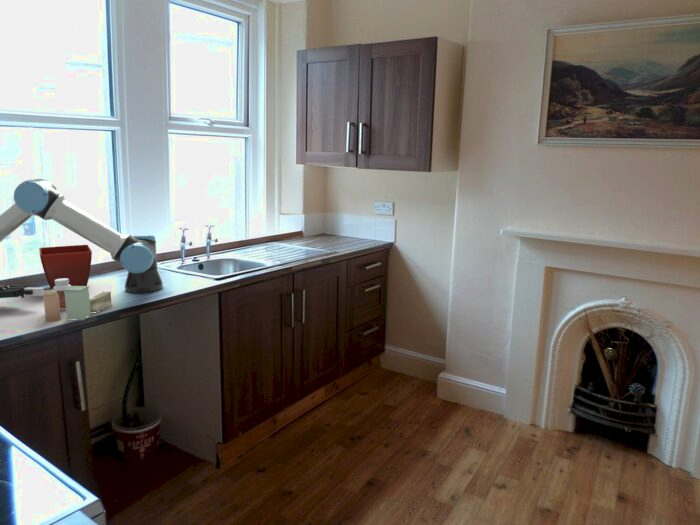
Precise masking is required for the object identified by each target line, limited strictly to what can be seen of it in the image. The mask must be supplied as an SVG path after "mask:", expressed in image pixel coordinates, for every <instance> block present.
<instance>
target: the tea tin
mask: <svg viewBox="0 0 700 525" xmlns="http://www.w3.org/2000/svg"><path fill="white" fill-rule="evenodd" d="M89 288H90V287H89V285H87V286H71V287H69V288H67V289H65V290H64V293H65V303H66V310H65V312H66V320H67V321H72V320H71V319H77V320H76V321H84V320H86V319H87V318H86V317H87V316H89V315H90V314H91V315H92V313H91V311H90V300H89V299H90V292H89ZM89 317H90V316H89ZM85 318H86V319H85ZM69 319H70V320H69Z"/></svg>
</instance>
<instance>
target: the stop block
mask: <svg viewBox="0 0 700 525" xmlns="http://www.w3.org/2000/svg"><path fill="white" fill-rule="evenodd" d="M111 292H112V291H102V292H99V293H97V294H95V295H94V296H92V297H89V300H90V311H91V312H98V311H100V310H102V309H103V308H105V307H107V306H108V307H110V306H111V305H112V294H111ZM110 304H111V305H110ZM109 305H110V306H109ZM108 307H107V308H108ZM105 309H106V308H105ZM103 310H104V309H103ZM103 310H102V311H103ZM100 312H101V311H100ZM98 313H99V312H98Z"/></svg>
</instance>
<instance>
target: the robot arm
mask: <svg viewBox="0 0 700 525" xmlns="http://www.w3.org/2000/svg"><path fill="white" fill-rule="evenodd" d="M13 201H14V204H13V205H11V206H10V207H8V209H6V210H5V211H3V212H2V213H1V214H0V243H1V242H3V241H4V240H5V239H7V237H9V236H10V235H11V234H12V233H14V232H15V231H16V230H17V229H19V228H20V227H21V226H22V225H23V224H25V223H26V222H27V221H29V219H31V218H32V217H34V216H36V217H38V218H40V219H42V220H44V221H49V220H52V221H53V222H56V223H57V224H59V225H60V226H62V227H63V228H65V229H68V230H70V231H71V232H73V233H74V234H76V235H79V236H80V237H82V238H83V239H85V240H87V241H88V242H90V243H92V244H94V245H95V246H97V247H99V248H100V249H102V250H104V251H106V252H107V253H109V254H110V257H111V259H112V260H113V261H115V262H117V263H118V264H119V265H121V266H122V267H123V269H124V270H125V271H126V272H127V275H126V280H125V284H124V291H126V292H128V293H131V294H132V293H134V294H135V293H137V294H142V293H144V294H145V293H151V292H156V291H160V290H162V289H163V288H164V285H163V280H162V277H161V275H160V273H159V270H158V260H157V247H156V246H157V244H156V243H157V241H156V237H155V236H154V235H153V234H149V235H148V234H147V235H146V234H144V235H131V234H130V233H128V234H122V233H120V232H119V231H117V230H115V229H114V228H112V227H110V226H108V225H107V224H105V223H104V222H102V221H100V220H99V219H97V218H96V217H94V216H92V215H90V214H89V213H87V212H85V211H83V210H82V209H80V208H78V207H76V206H75V205H74V204H72V203H70V202H69V201H67V200H66V198H65V195H64V194H63V193H61V191H58V190H57V187H56V186H55V185H54V183H52V182H51V181H49V180H47V179H44V178H43V179H42V178H35V179H28V180H25V181H22V182H21V183H19V184H18V185H17V186H16V187H15V190H14V191H13ZM44 291H45V288H44V287H29V285H19V284H18V285H17V284H11V283H9V284H7V285H2V284H0V299H6V298H7V299H9V298H19V297H21V299H25V297H26V296H27V297H28V296H29V297H31V296H32V297H33V296H34V297H35V296H37V297H39V296H40V297H41V296H42V297H43V295H44Z"/></svg>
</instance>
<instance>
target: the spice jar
mask: <svg viewBox="0 0 700 525" xmlns="http://www.w3.org/2000/svg"><path fill="white" fill-rule="evenodd" d="M42 297H43V306H44V315H45V316H44V317H45V322H56V320H57V321H60V320H61V318H62V317H61V310H60V306H59V296H58V293H57V290H51V289H47V290H44V295H43V296H42Z"/></svg>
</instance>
